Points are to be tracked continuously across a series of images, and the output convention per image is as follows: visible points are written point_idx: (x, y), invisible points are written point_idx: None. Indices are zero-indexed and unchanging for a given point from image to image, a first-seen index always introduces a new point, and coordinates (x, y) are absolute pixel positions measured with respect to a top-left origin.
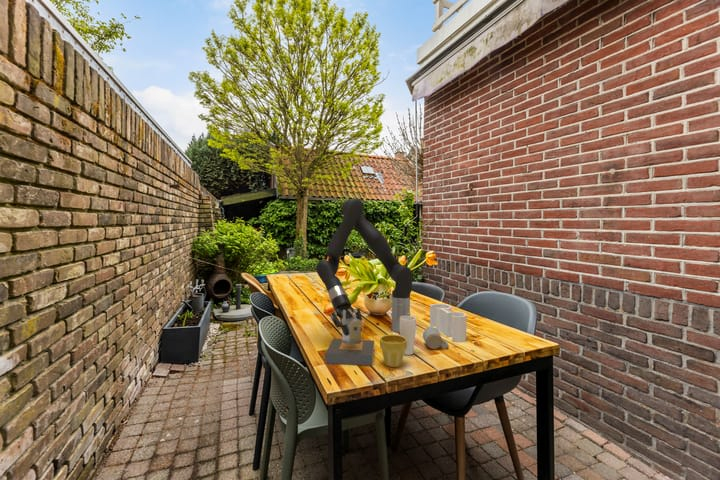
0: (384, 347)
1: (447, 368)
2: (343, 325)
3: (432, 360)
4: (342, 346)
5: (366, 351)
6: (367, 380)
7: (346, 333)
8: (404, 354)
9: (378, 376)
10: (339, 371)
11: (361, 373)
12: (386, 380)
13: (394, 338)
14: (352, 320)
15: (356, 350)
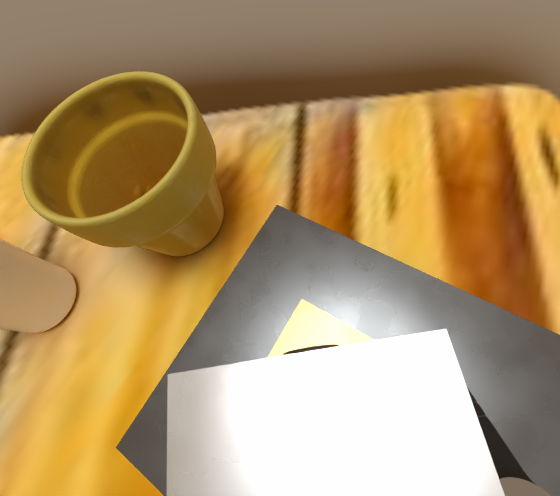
0: (208, 130)
1: None
2: (522, 486)
3: None
4: None
5: (279, 268)
6: (366, 123)
7: None
8: (75, 285)
9: (309, 139)
10: (475, 229)
11: (368, 179)
12: (296, 108)
13: (63, 215)
14: (333, 445)
15: (336, 310)
